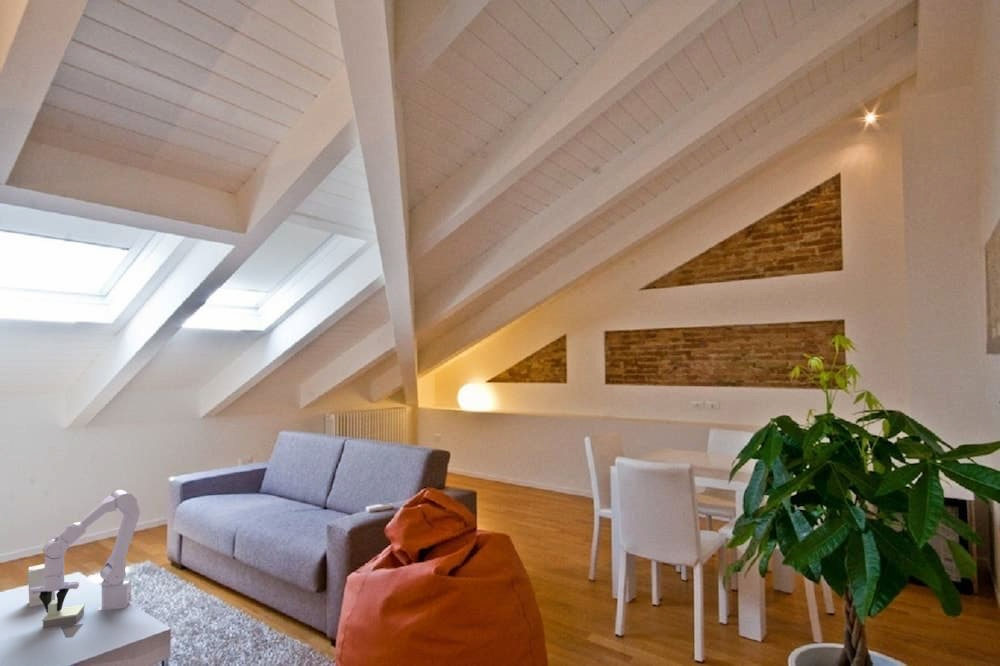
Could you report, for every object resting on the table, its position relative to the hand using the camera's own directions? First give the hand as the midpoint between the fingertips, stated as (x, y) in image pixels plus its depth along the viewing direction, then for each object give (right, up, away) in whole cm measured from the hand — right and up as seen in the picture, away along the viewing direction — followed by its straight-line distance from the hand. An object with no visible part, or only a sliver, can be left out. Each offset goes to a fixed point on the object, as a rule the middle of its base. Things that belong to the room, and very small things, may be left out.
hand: (54, 610), depth 207 cm
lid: (+3, -1, +1) cm, 3 cm away
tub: (+3, -4, +1) cm, 5 cm away
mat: (+8, -4, -8) cm, 12 cm away
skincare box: (-18, -5, +16) cm, 24 cm away
